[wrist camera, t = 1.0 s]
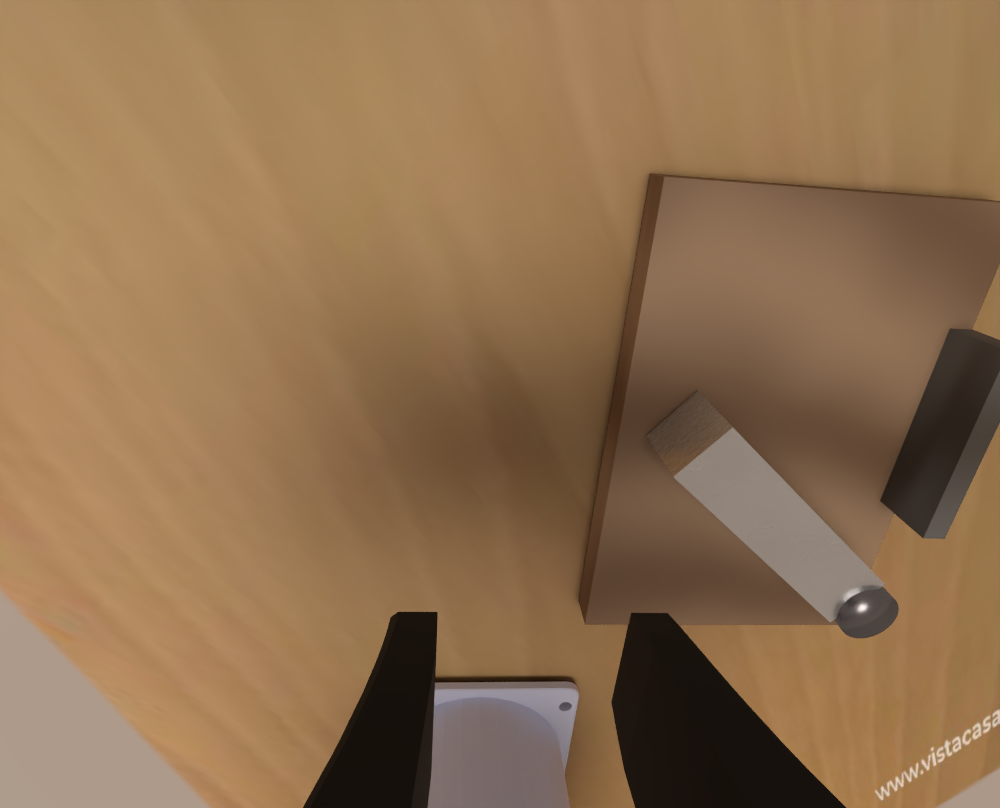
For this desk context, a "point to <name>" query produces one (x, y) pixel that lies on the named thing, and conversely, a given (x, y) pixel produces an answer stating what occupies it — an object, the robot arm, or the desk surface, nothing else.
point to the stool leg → (771, 517)
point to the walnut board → (792, 381)
